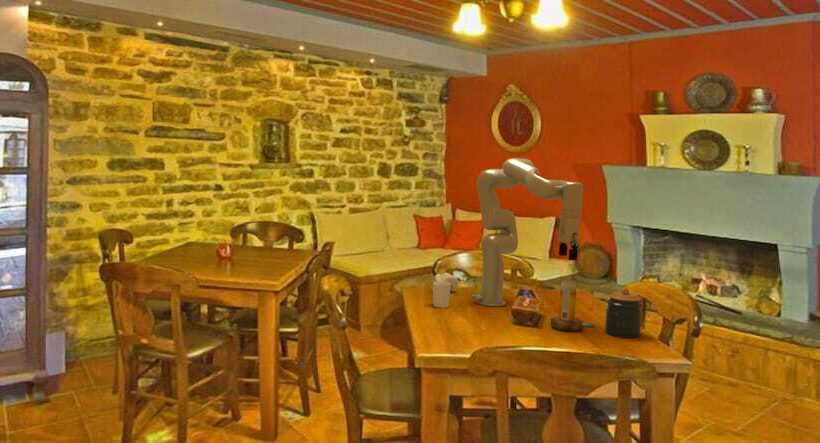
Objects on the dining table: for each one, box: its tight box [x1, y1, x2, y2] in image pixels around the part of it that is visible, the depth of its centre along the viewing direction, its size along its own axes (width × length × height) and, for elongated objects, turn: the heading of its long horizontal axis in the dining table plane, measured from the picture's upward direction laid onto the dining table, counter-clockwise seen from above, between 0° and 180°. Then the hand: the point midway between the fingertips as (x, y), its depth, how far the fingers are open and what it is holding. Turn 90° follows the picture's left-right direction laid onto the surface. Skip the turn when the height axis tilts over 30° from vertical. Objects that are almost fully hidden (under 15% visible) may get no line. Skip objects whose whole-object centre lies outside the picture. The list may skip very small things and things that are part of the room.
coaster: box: [582, 320, 596, 328], centre depth 239 cm, size 7×7×1 cm
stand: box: [550, 316, 584, 333], centre depth 233 cm, size 12×12×3 cm
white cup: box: [432, 281, 451, 309], centre depth 261 cm, size 8×8×10 cm
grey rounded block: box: [434, 272, 459, 292], centre depth 289 cm, size 11×12×9 cm
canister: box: [604, 287, 644, 339], centre depth 228 cm, size 13×13×18 cm
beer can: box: [557, 280, 578, 322], centre depth 233 cm, size 6×6×15 cm
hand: (567, 257), depth 235 cm, fingers open, 9 cm apart
